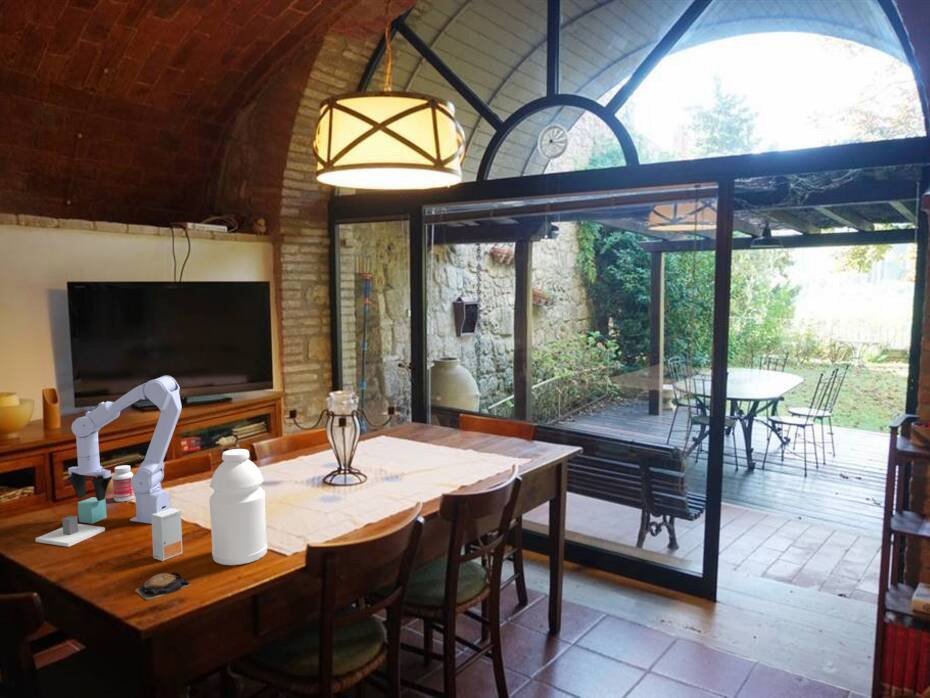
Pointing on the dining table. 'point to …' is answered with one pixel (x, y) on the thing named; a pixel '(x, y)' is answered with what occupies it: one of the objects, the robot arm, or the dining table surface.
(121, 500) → the pill bottle
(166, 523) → the skincare box
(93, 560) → the dining table surface
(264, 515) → the bottle
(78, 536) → the post base
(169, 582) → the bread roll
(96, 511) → the teal toy cube
